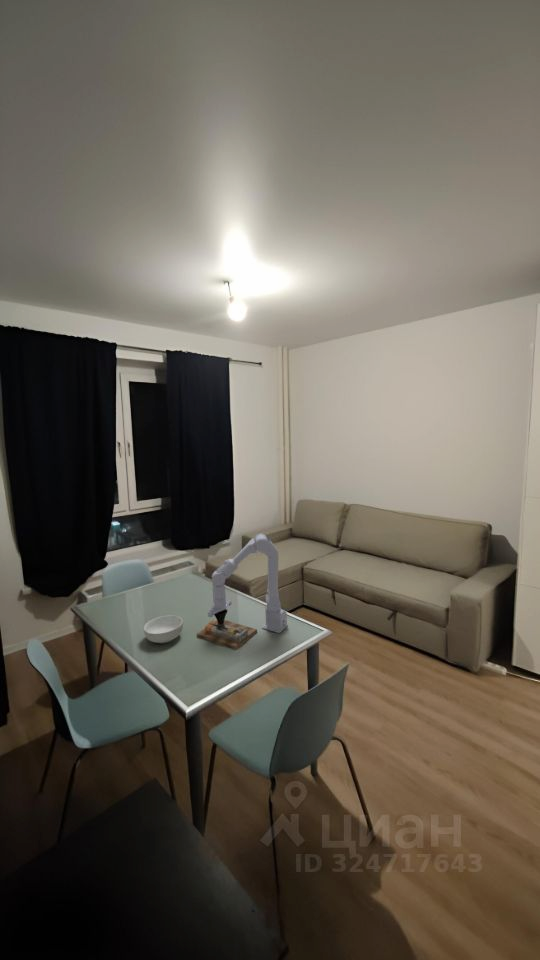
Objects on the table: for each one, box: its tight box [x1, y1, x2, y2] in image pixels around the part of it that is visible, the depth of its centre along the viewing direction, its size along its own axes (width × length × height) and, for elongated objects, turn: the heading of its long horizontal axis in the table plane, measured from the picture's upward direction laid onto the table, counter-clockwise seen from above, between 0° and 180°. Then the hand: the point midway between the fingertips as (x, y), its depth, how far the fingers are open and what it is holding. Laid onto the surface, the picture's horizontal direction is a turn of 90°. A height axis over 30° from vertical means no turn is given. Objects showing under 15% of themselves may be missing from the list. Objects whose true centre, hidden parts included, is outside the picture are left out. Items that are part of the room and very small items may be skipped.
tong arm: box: [208, 620, 242, 634], centre depth 172 cm, size 18×3×3 cm, turn 58°
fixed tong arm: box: [204, 623, 248, 643], centre depth 170 cm, size 19×7×3 cm, turn 58°
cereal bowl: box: [143, 614, 184, 644], centre depth 171 cm, size 17×17×7 cm
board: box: [196, 619, 258, 651], centre depth 173 cm, size 22×16×2 cm
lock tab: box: [226, 627, 237, 634], centre depth 166 cm, size 3×4×1 cm
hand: (220, 625), depth 176 cm, fingers closed
